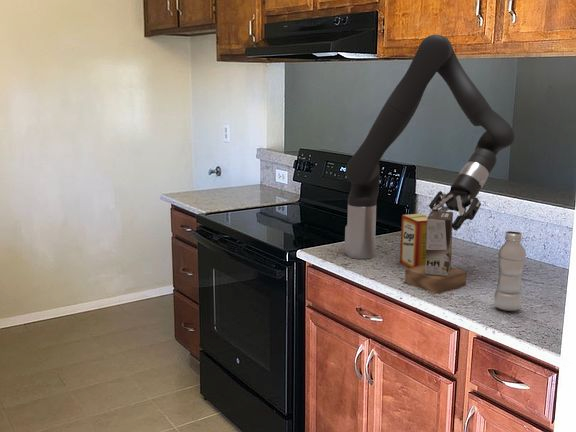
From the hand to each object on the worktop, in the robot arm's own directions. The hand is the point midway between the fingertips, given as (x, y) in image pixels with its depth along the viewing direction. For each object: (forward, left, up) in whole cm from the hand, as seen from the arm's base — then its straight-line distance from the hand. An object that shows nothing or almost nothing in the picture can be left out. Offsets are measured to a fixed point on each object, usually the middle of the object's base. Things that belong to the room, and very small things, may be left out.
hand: (441, 225), depth 173 cm
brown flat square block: (0, -1, -17) cm, 17 cm away
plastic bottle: (+24, -2, -17) cm, 30 cm away
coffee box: (+1, -1, -13) cm, 13 cm away
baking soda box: (-15, +8, -17) cm, 24 cm away
